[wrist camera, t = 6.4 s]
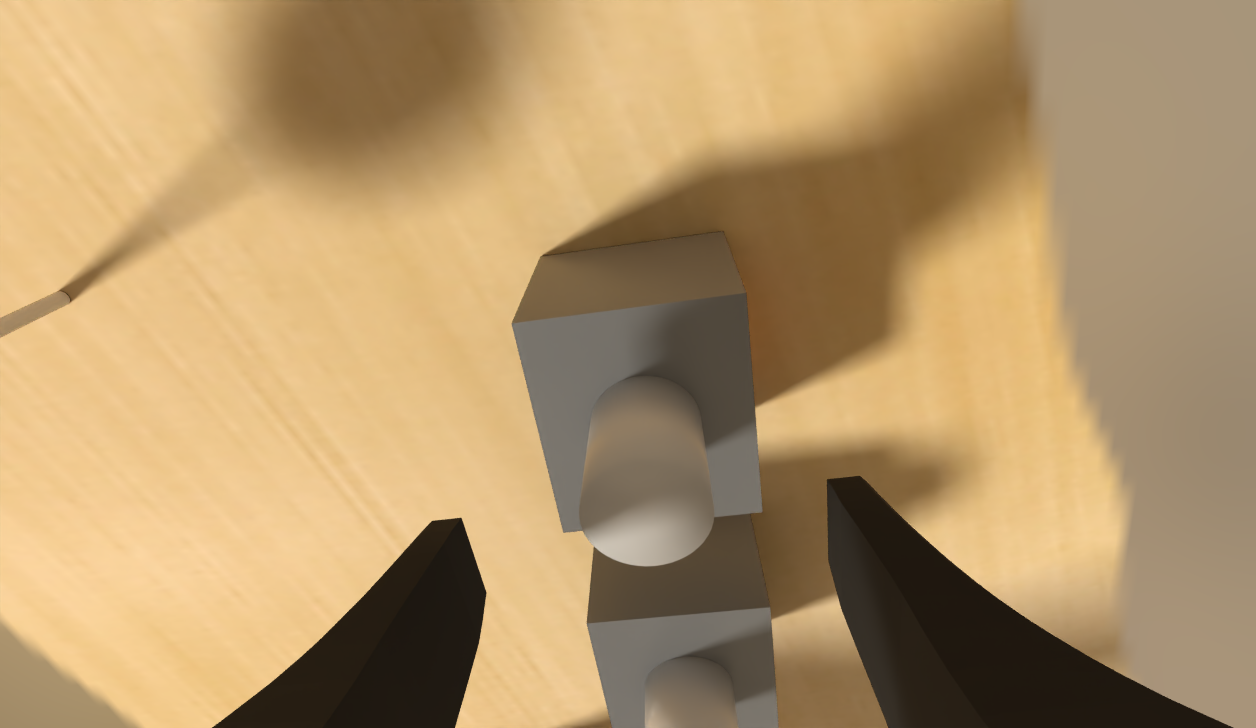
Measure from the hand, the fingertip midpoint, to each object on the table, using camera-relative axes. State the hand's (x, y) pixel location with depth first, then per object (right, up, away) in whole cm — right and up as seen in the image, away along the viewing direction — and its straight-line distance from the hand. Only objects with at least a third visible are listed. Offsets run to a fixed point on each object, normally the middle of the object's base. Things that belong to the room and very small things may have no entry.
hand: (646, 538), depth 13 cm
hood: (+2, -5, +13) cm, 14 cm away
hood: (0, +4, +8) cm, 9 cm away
